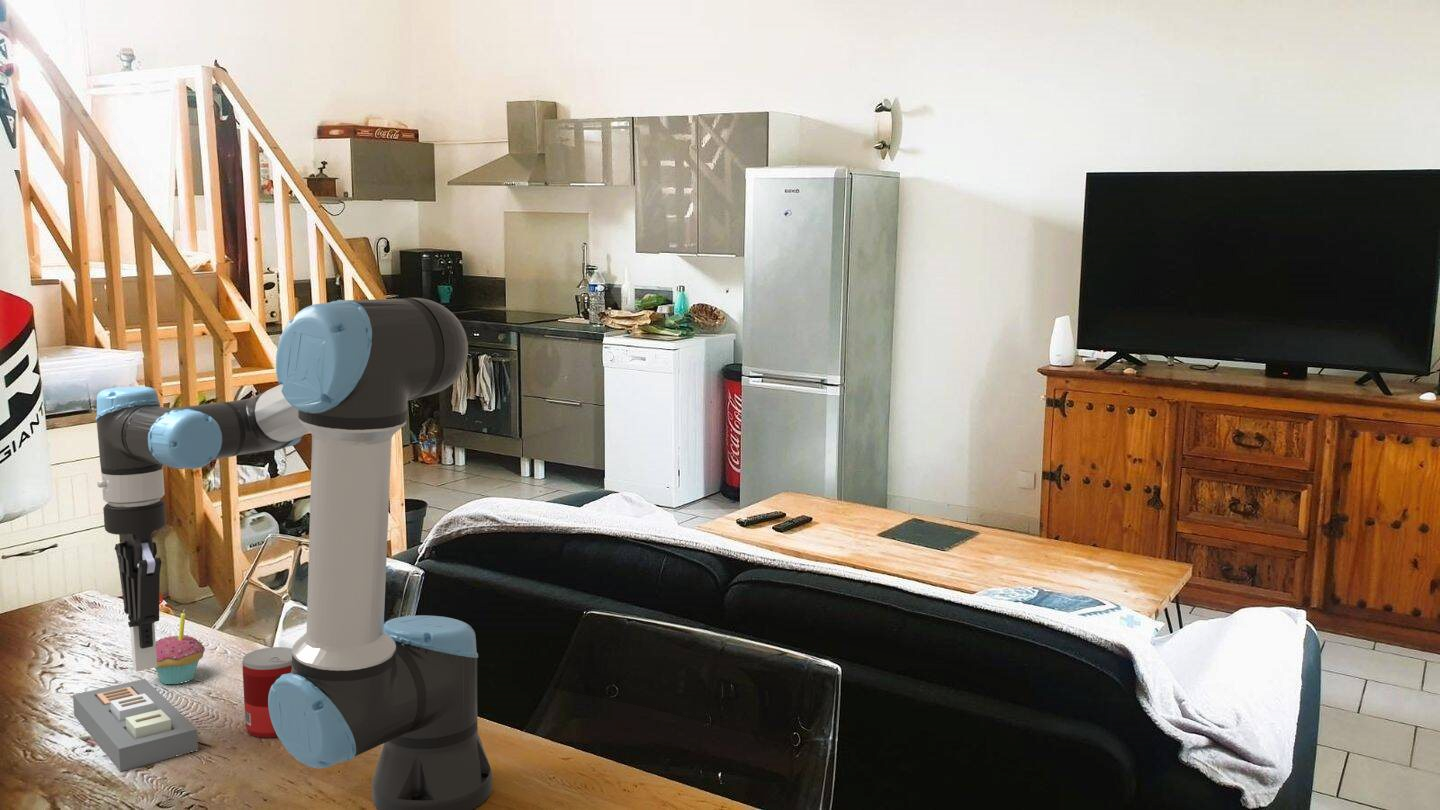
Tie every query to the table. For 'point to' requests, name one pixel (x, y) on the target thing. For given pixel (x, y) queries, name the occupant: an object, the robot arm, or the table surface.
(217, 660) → the table surface
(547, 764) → the table surface
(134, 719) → the tile
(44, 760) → the table surface
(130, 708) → the tile
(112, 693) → the tile
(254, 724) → the canned food
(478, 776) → the robot arm
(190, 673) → the cupcake
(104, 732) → the keypad
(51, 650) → the table surface
